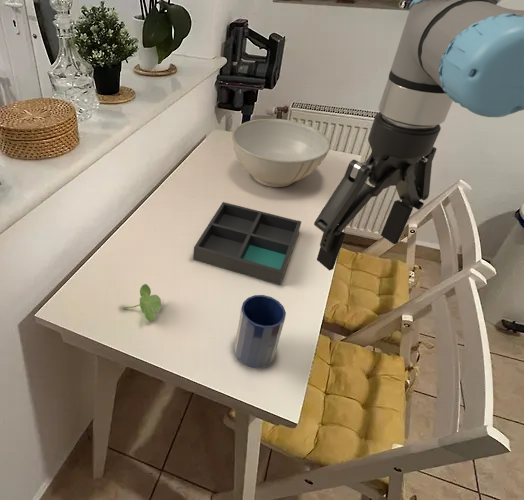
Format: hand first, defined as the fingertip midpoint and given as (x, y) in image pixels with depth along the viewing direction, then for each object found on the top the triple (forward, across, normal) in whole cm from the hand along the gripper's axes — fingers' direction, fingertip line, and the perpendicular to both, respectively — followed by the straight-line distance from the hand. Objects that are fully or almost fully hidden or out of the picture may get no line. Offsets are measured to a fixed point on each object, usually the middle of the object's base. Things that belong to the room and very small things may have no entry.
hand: (358, 251), depth 66 cm
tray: (+22, -4, -30) cm, 37 cm away
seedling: (+22, +26, -23) cm, 41 cm away
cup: (+22, +13, -4) cm, 26 cm away
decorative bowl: (+22, -30, -53) cm, 65 cm away
